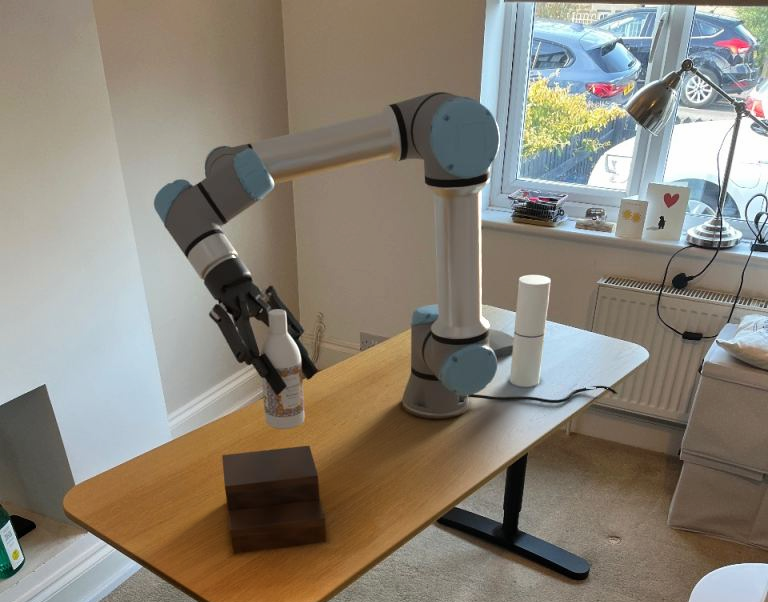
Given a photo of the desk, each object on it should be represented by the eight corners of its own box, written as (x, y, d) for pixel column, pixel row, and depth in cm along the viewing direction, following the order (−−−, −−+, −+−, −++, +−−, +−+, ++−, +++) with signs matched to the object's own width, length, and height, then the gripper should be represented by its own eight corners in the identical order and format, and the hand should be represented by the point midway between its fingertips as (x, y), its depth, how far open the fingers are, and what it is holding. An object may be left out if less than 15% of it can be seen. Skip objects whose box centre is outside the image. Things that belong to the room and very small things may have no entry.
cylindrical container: (504, 381, 188) (512, 280, 174) (520, 372, 192) (530, 272, 178) (528, 389, 184) (539, 286, 170) (544, 380, 188) (556, 279, 174)
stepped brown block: (312, 490, 147) (309, 445, 142) (326, 541, 133) (323, 493, 128) (228, 501, 144) (222, 454, 139) (233, 554, 131) (226, 505, 125)
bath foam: (276, 434, 132) (267, 322, 121) (259, 418, 137) (248, 309, 126) (311, 424, 135) (305, 314, 124) (293, 409, 140) (286, 302, 129)
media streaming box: (523, 351, 204) (524, 340, 202) (480, 363, 197) (480, 352, 196) (488, 334, 214) (488, 324, 212) (446, 345, 207) (446, 335, 206)
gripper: (254, 268, 138) (325, 374, 139) (166, 296, 125) (245, 413, 126) (272, 243, 132) (347, 353, 133) (182, 270, 119) (265, 392, 120)
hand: (297, 382), depth 129 cm, fingers closed on bath foam, 7 cm apart
